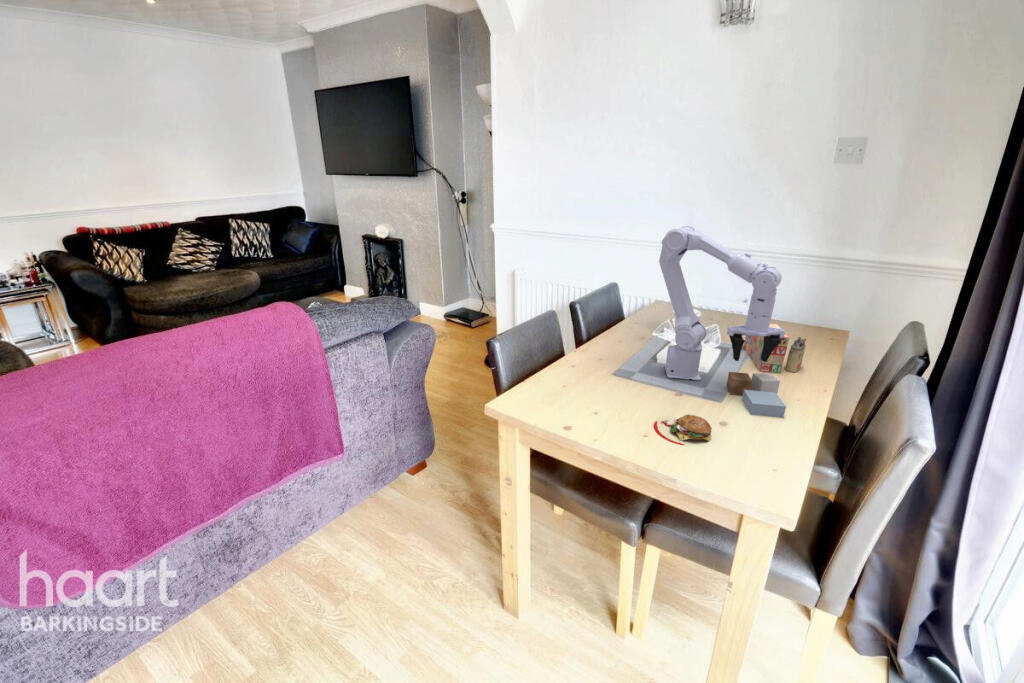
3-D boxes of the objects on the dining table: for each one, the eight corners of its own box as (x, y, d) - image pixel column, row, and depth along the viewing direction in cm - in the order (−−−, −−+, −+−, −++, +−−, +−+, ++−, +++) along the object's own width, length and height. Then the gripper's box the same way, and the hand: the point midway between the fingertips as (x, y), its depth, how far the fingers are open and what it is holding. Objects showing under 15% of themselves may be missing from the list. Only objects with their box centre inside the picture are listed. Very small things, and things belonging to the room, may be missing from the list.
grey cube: (759, 397, 133) (762, 381, 131) (749, 389, 138) (752, 373, 136) (776, 397, 133) (780, 380, 132) (765, 388, 138) (769, 373, 136)
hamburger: (700, 417, 123) (704, 397, 120) (724, 448, 110) (729, 425, 107) (646, 417, 122) (649, 396, 120) (663, 447, 109) (667, 424, 107)
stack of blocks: (742, 347, 169) (749, 314, 164) (761, 349, 168) (769, 315, 163) (759, 372, 149) (767, 334, 145) (781, 374, 148) (790, 336, 144)
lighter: (795, 373, 148) (802, 343, 145) (782, 370, 151) (789, 340, 147) (801, 367, 153) (809, 337, 149) (788, 363, 155) (795, 334, 152)
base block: (749, 415, 124) (752, 403, 123) (741, 401, 131) (743, 389, 130) (783, 418, 123) (786, 406, 121) (772, 404, 130) (775, 392, 129)
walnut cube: (729, 395, 134) (733, 379, 132) (725, 387, 138) (728, 371, 137) (749, 397, 133) (752, 380, 131) (744, 389, 138) (747, 373, 136)
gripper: (738, 317, 125) (728, 364, 130) (795, 318, 124) (783, 366, 129) (728, 309, 131) (719, 354, 136) (781, 310, 131) (771, 356, 136)
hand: (749, 360), depth 133 cm, fingers open, 7 cm apart
